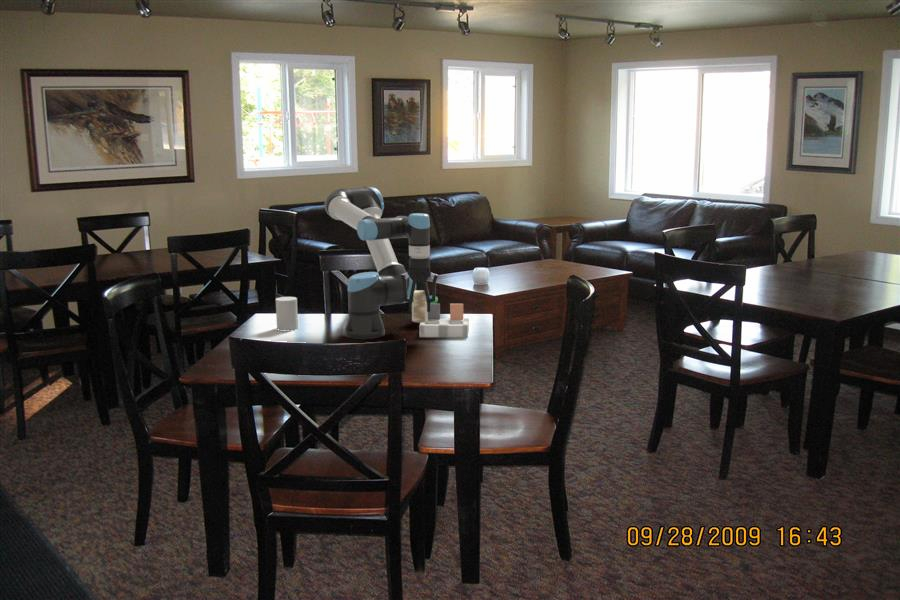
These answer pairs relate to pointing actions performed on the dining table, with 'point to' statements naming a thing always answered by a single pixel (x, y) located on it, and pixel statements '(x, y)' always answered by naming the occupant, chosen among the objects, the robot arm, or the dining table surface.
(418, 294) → the cream tall block
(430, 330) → the socket block
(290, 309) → the white cylinder
